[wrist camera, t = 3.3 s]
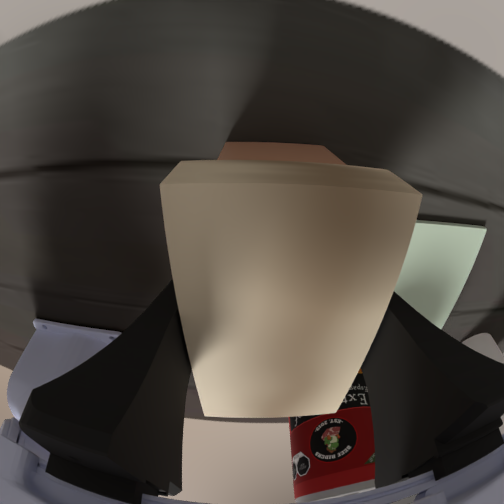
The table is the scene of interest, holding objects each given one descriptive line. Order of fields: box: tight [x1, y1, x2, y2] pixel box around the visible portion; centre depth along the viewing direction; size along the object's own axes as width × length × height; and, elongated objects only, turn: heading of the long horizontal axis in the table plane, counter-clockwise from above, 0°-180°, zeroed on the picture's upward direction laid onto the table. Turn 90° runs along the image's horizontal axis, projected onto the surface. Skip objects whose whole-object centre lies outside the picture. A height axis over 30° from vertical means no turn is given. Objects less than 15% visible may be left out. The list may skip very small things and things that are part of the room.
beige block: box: [160, 160, 423, 418], centre depth 9 cm, size 6×10×2 cm, turn 179°
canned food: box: [289, 367, 376, 503], centre depth 18 cm, size 8×8×11 cm
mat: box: [394, 220, 487, 329], centre depth 17 cm, size 11×10×1 cm
